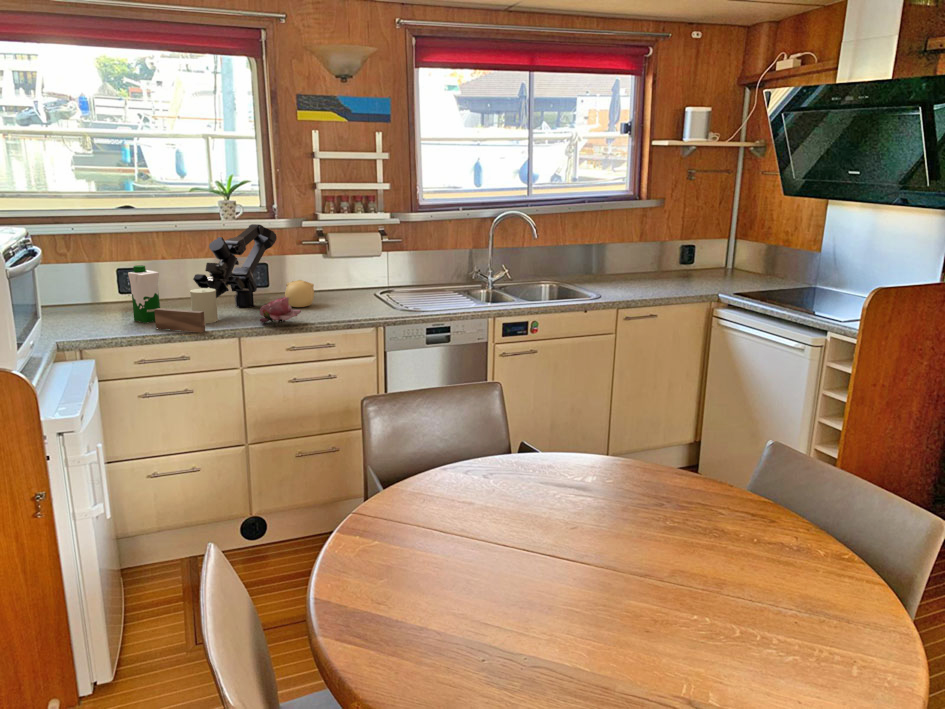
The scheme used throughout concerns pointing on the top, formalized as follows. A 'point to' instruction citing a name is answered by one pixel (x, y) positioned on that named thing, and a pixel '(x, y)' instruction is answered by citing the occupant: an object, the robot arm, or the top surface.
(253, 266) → the robot arm
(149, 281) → the milk carton
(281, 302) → the flower
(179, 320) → the brown box
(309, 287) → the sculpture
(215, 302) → the can
